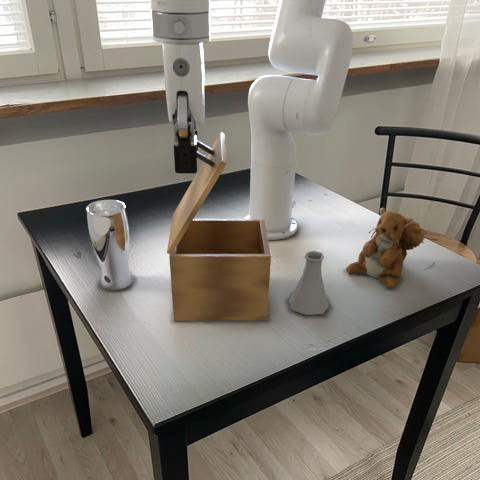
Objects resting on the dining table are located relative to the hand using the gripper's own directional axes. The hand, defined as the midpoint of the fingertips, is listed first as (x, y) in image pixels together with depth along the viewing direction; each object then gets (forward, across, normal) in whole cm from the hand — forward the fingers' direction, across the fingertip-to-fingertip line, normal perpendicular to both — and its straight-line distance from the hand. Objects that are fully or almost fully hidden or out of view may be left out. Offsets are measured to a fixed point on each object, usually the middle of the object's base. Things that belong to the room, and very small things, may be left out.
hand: (187, 163), depth 75 cm
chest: (+25, 0, -5) cm, 25 cm away
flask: (+25, -2, -21) cm, 32 cm away
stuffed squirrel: (+25, +9, -38) cm, 46 cm away
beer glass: (+25, +6, +14) cm, 29 cm away
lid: (+5, 0, -2) cm, 5 cm away
